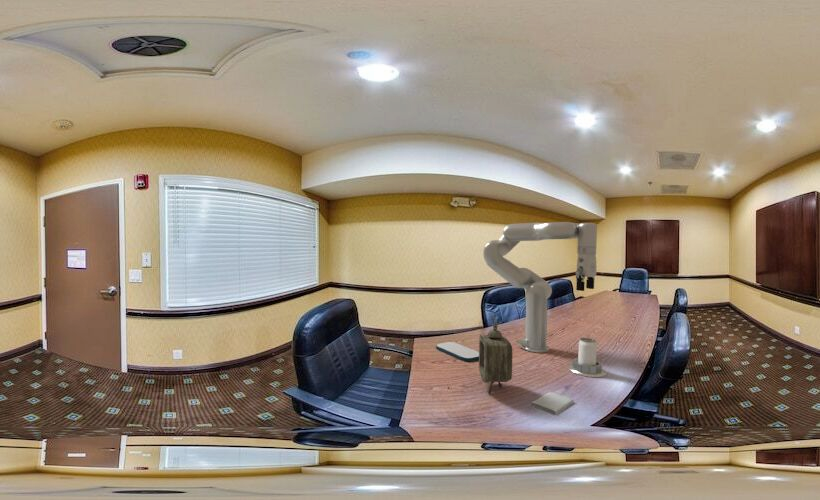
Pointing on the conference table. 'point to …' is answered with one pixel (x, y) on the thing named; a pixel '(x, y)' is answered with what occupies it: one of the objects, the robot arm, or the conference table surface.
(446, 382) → the conference table surface
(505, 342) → the tabletop clock
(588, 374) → the ring collar
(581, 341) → the can
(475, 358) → the external hard drive
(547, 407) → the hard drive
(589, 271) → the robot arm
